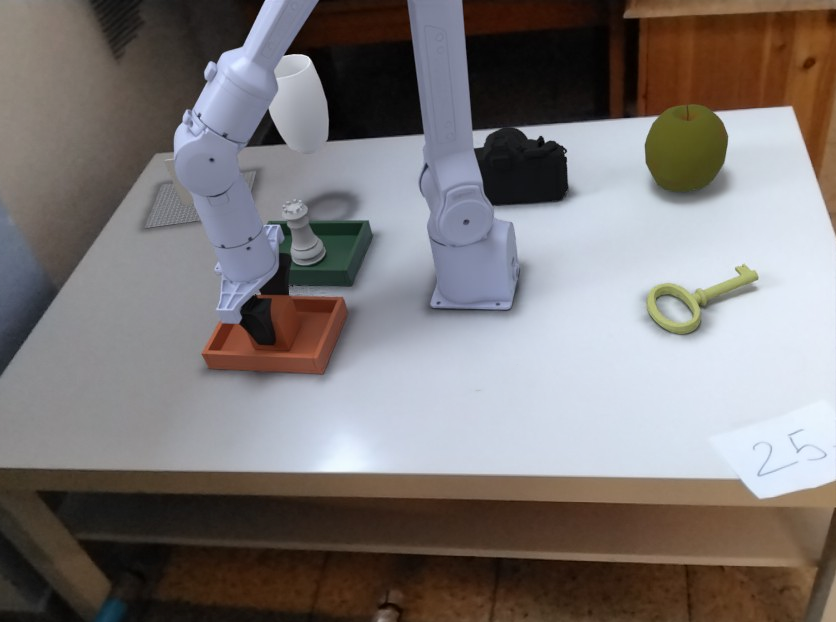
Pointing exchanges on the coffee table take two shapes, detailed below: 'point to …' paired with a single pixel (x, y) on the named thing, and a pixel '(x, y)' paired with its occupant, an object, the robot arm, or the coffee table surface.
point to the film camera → (521, 168)
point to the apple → (686, 148)
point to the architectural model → (178, 201)
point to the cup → (300, 105)
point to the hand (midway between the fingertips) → (274, 327)
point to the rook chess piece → (302, 235)
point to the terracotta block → (281, 323)
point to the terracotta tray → (304, 356)
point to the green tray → (330, 252)
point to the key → (695, 299)
